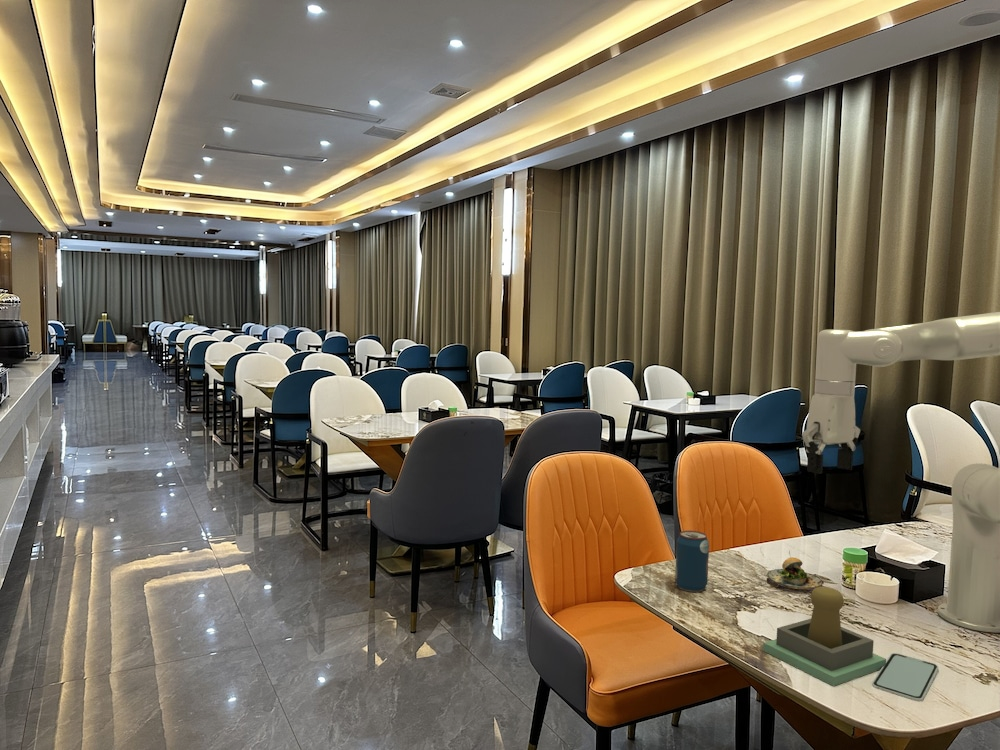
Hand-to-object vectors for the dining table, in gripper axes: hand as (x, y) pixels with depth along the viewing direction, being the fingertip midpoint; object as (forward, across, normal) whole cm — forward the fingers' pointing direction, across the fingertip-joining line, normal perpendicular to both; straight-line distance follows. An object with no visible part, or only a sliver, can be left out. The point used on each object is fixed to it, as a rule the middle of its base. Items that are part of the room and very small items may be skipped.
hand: (829, 470), depth 149 cm
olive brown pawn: (+27, +23, +17) cm, 39 cm away
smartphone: (+29, +16, +28) cm, 43 cm away
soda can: (+28, +19, -19) cm, 39 cm away
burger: (+29, -4, -10) cm, 31 cm away
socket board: (+28, +23, +17) cm, 40 cm away
